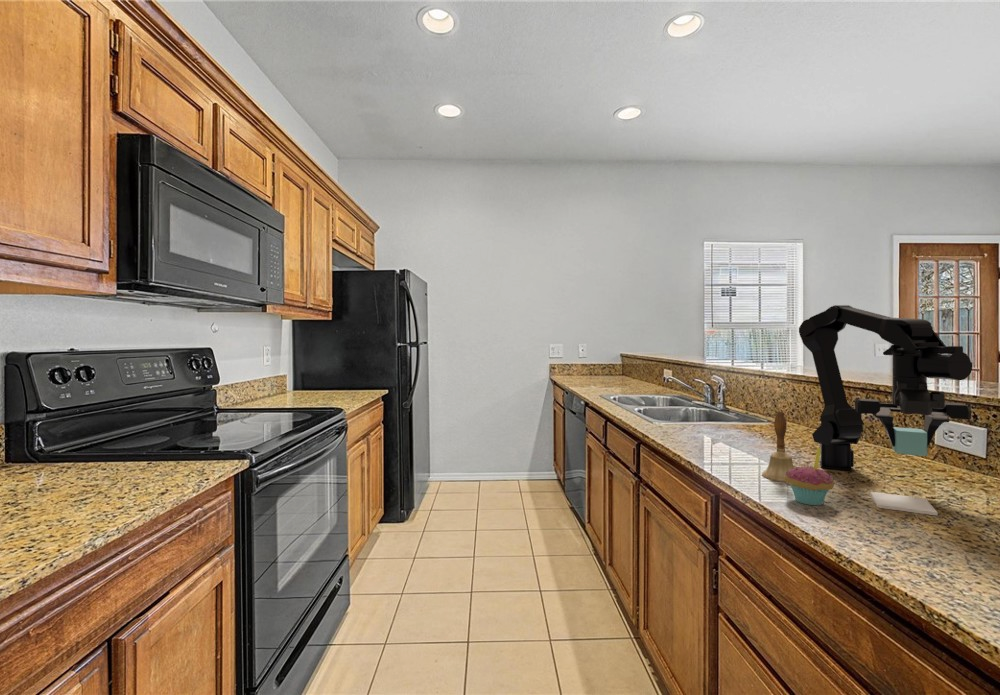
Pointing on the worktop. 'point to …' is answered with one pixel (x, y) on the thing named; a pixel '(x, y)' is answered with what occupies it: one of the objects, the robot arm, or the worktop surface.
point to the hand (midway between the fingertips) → (909, 447)
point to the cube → (910, 441)
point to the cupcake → (809, 483)
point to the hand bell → (779, 453)
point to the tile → (903, 503)
